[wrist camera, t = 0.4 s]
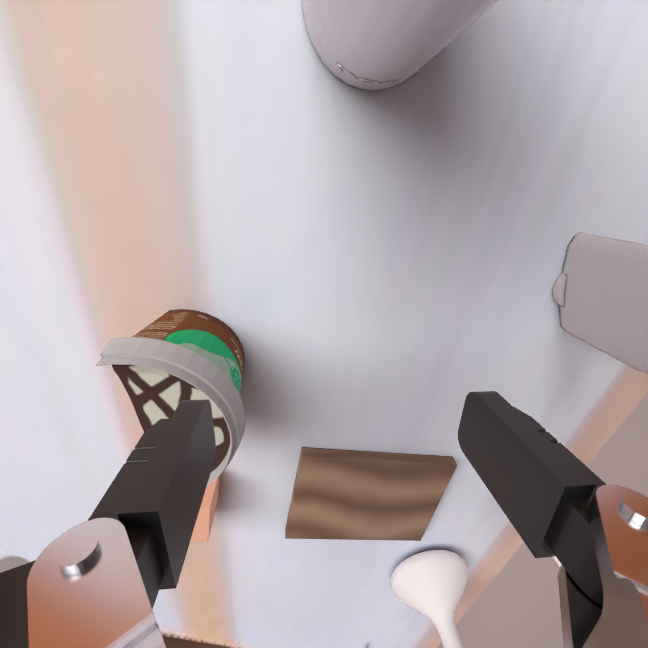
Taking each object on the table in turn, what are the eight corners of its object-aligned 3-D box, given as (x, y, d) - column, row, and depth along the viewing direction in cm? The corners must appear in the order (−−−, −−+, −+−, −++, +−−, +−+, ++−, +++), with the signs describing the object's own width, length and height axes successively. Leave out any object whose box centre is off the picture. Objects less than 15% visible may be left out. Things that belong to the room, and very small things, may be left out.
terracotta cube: (172, 462, 33) (153, 506, 29) (220, 465, 34) (209, 508, 30) (173, 494, 35) (156, 540, 31) (218, 495, 36) (208, 540, 32)
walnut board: (301, 447, 34) (302, 456, 33) (452, 456, 37) (457, 465, 36) (285, 528, 40) (285, 538, 38) (417, 531, 42) (420, 540, 41)
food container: (270, 398, 31) (261, 488, 22) (209, 409, 31) (175, 505, 22) (236, 280, 26) (205, 335, 17) (162, 294, 25) (90, 356, 16)
